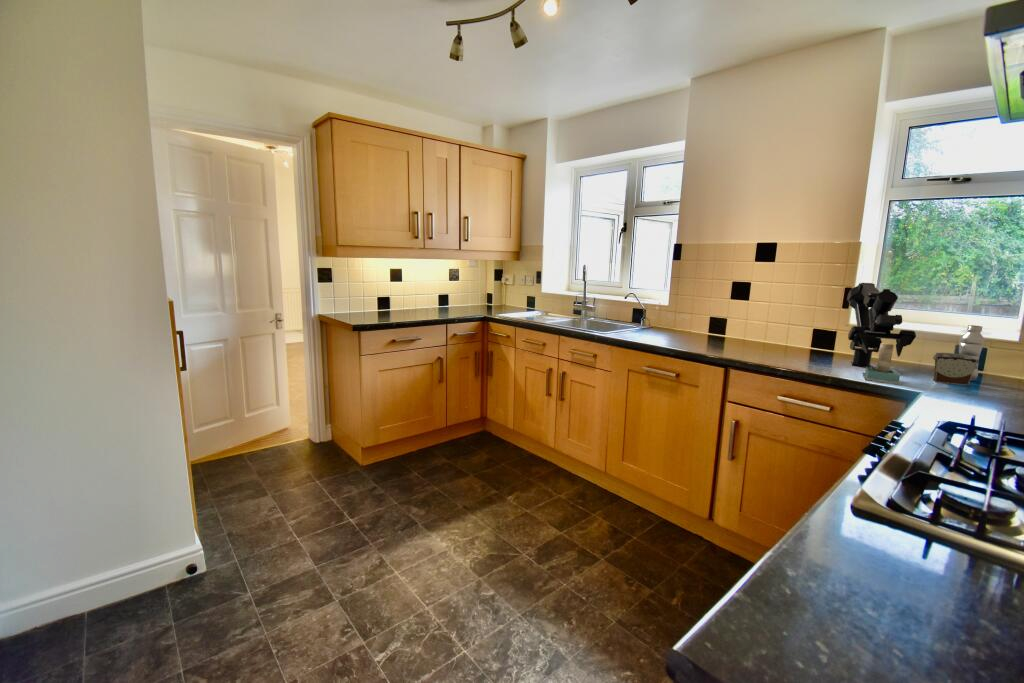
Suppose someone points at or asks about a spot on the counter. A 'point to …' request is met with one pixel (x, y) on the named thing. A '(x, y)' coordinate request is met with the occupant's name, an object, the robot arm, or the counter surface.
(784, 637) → the counter surface
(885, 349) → the dowel
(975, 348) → the plastic bottle
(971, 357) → the food container
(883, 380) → the collar plate
